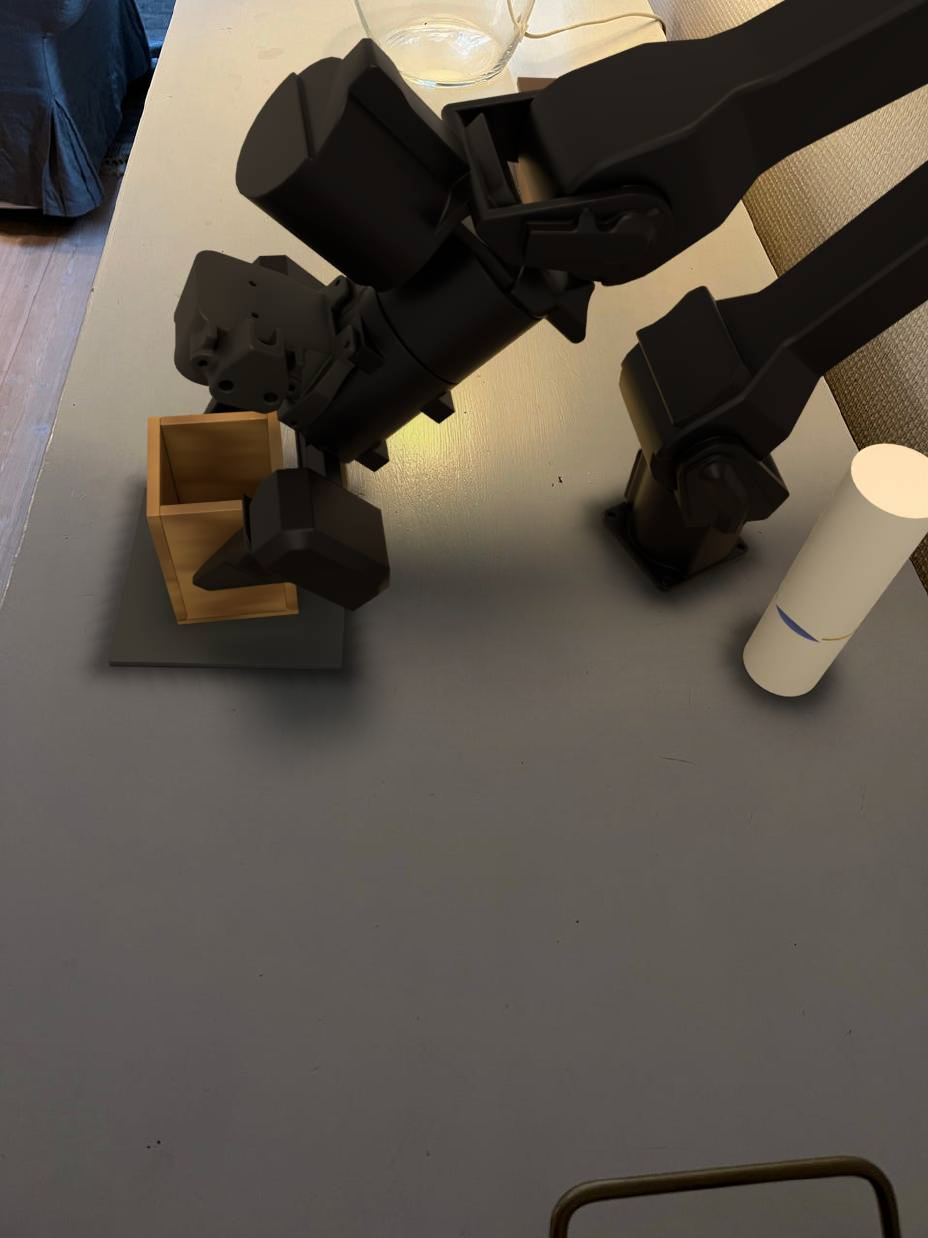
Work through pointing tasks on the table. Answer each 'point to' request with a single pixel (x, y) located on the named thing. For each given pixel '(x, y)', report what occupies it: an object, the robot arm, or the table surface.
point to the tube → (841, 568)
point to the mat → (217, 626)
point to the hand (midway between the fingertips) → (198, 512)
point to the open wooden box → (210, 506)
